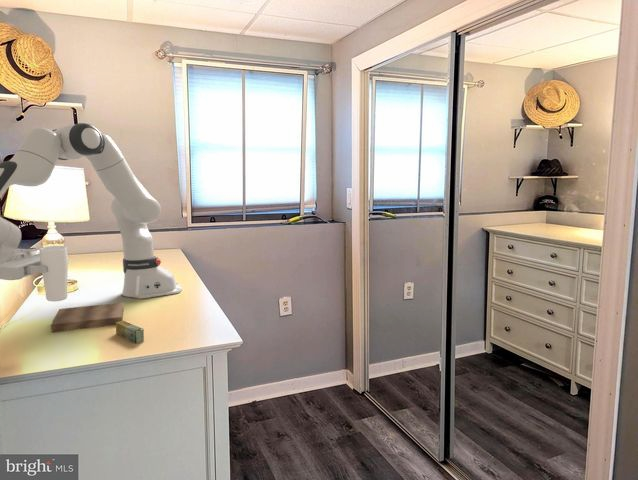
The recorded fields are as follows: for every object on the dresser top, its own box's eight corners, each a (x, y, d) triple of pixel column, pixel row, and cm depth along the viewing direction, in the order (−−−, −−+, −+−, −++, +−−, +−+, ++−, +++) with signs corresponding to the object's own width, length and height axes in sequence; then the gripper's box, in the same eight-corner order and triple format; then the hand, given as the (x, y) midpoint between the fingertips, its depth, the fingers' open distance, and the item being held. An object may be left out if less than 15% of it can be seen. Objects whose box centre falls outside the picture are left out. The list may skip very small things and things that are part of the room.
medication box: (144, 341, 137) (144, 328, 136) (136, 344, 135) (135, 331, 134) (123, 332, 144) (123, 319, 144) (115, 334, 142) (114, 321, 141)
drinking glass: (71, 294, 137) (68, 245, 135) (68, 301, 131) (65, 249, 128) (45, 296, 135) (41, 245, 132) (41, 303, 129) (37, 251, 126)
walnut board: (123, 309, 165) (123, 302, 164) (122, 324, 150) (121, 316, 150) (59, 315, 158) (59, 308, 157) (51, 332, 143) (50, 324, 143)
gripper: (-20, 261, 123) (27, 263, 121) (38, 246, 143) (79, 247, 140) (-17, 284, 124) (30, 287, 122) (40, 266, 144) (81, 268, 142)
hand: (56, 265), depth 131 cm, fingers closed on drinking glass, 6 cm apart
